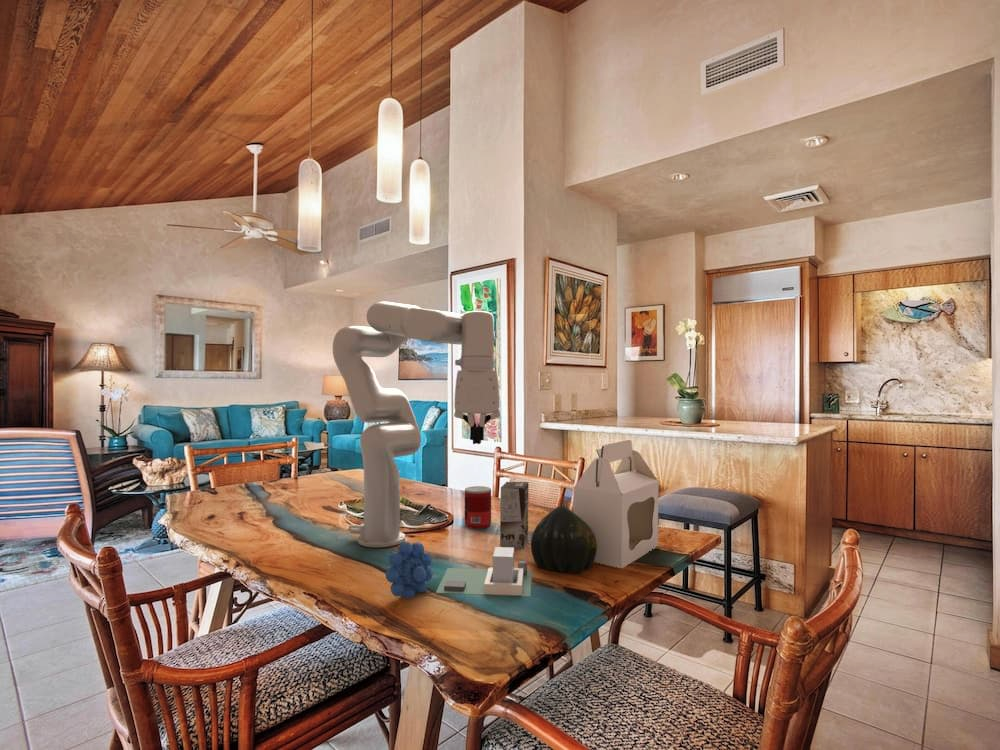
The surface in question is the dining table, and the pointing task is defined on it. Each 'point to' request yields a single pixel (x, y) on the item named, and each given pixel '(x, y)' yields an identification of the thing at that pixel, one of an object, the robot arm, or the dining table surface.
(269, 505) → the dining table surface
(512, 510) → the coffee box
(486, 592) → the frame
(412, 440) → the robot arm
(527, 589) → the board
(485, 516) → the canned food
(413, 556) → the grapes
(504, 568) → the plug
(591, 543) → the squash
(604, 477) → the gable box
